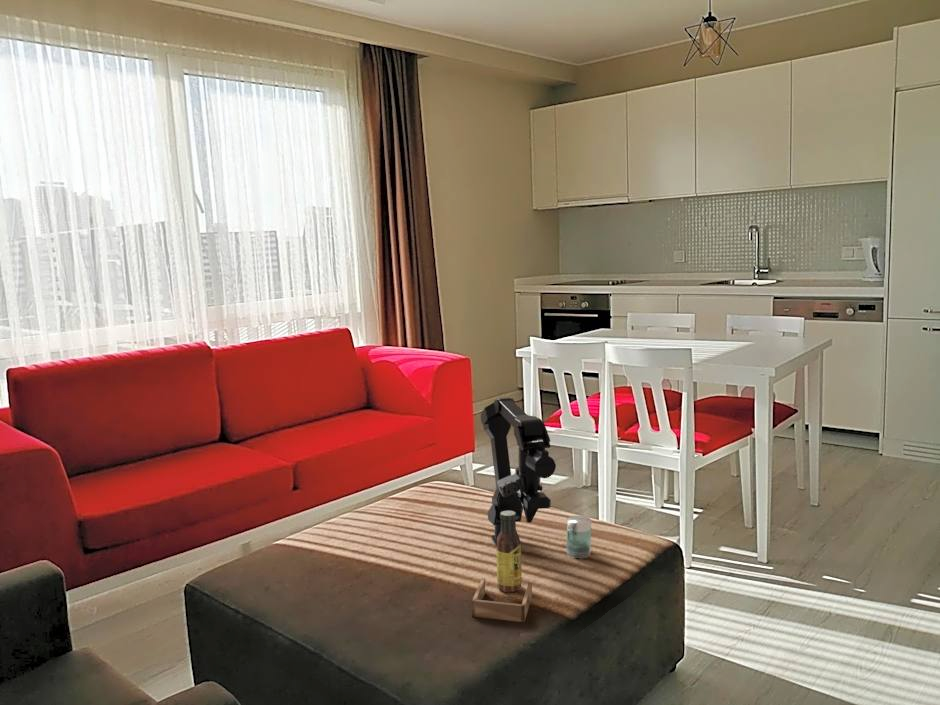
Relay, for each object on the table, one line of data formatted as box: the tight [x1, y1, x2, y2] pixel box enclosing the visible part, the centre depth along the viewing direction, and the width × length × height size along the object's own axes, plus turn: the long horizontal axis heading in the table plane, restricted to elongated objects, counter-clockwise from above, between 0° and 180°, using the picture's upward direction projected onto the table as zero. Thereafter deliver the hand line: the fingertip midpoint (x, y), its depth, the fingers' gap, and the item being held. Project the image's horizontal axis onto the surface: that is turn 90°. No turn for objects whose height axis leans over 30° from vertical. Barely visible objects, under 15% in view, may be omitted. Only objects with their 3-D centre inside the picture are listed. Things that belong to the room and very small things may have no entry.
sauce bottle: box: [496, 511, 523, 593], centre depth 200 cm, size 7×6×20 cm
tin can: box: [566, 515, 592, 559], centre depth 220 cm, size 7×7×10 cm
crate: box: [471, 577, 533, 623], centre depth 191 cm, size 12×13×4 cm
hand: (528, 522), depth 210 cm, fingers closed
